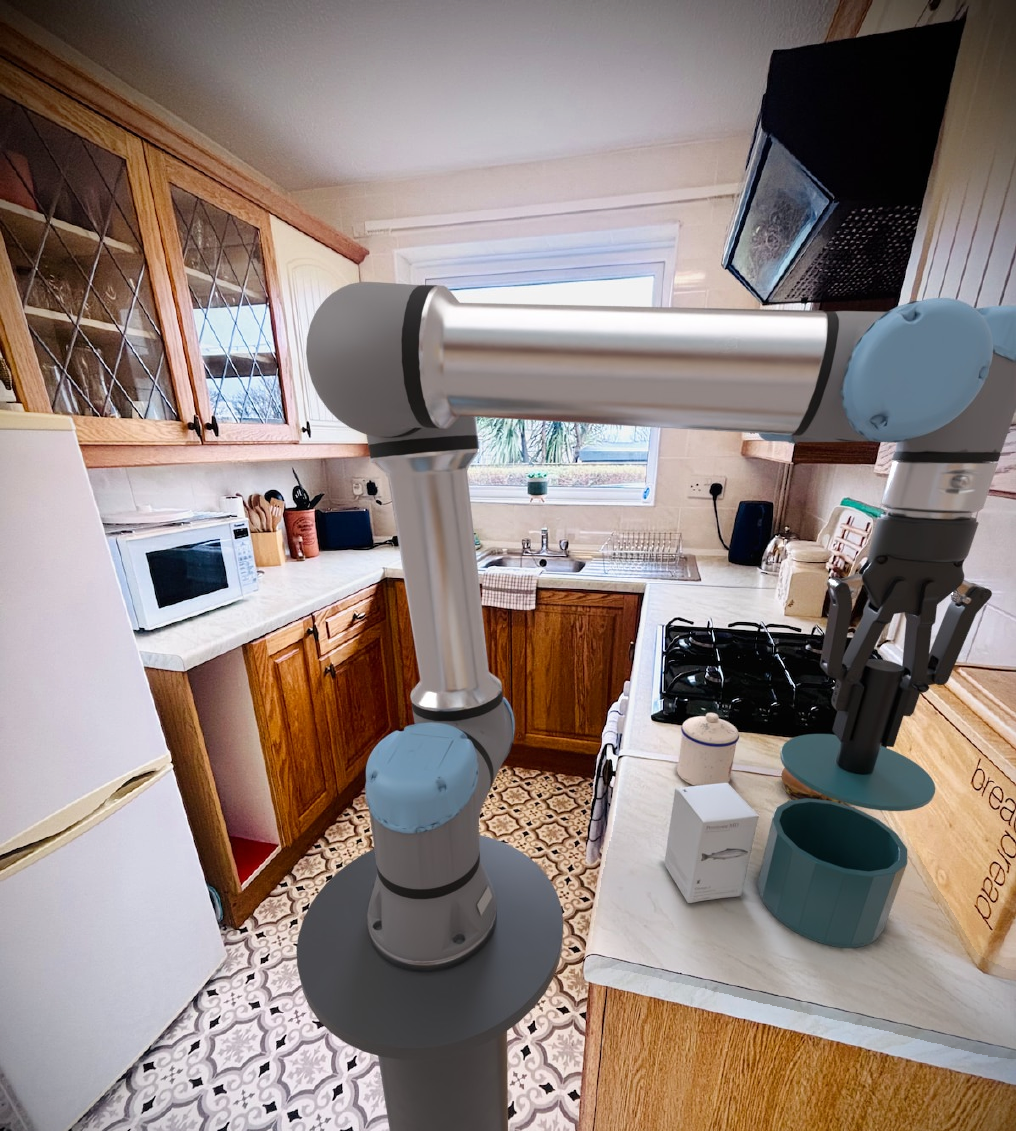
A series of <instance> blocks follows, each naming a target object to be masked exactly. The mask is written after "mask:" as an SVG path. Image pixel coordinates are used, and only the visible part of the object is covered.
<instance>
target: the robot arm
mask: <svg viewBox="0 0 1016 1131" xmlns="http://www.w3.org/2000/svg"><path fill="white" fill-rule="evenodd" d="M305 346H306V347H305V348H306V350H305V357H306V364H307V371H308V374H309V377H310V380H311V384H312V385H313V388H314V390H315V391H316V394H317V395H318V398H319V399H320V400H321V402H322V403H323V404H324V406H325V407H326V409H327V410H328V411H329V412H330V413H331V415H333V417H335V419H337V420H338V421H340V422H341V423H343V424H344V425H345V426H347V427H348V428H350V429H352V430H353V431H357V432H359V433H361V434H364V435H366V441H367V447H368V453H369V457H370V458H369V460H370V462H371V463H372V465H374V466H375V467H376V468H377V469H378V470H380V471H381V472H382V473H383V474H384V475H385V476H386V477H387V480H388V485H389V492H390V498H391V504H392V510H393V511H392V512H393V517H394V523H395V530H396V535H397V536H396V537H397V542H398V543H397V544H398V549H399V555H400V561H401V568H402V574H403V580H404V581H403V582H404V587H405V593H406V598H407V604H408V612H409V618H410V624H411V631H412V637H413V642H414V648H415V649H414V650H415V656H416V661H417V662H416V663H417V668H418V676H419V682H418V683H417V684H416V685H415V686H414V687H413V688H412V690H411V692H410V702H411V710H412V715H413V722H414V724H409V725H407V726H405V727H404V729H403V730H402V731H399V730H394V731H393V732H391V733H390V734H388V735H386V736H385V737H384V738H382V739H381V740H380V741H379V742H378V743H377V744H376V745H375V747H374V748H373V749H372V751H371V753H370V754H369V757H368V759H367V762H366V766H365V785H364V788H365V802H366V804H367V807H368V814H369V821H370V828H371V835H372V841H373V849H374V850H375V857H376V864H377V872H378V874H377V877H376V881H375V883H374V885H373V892H372V895H371V899H370V902H369V907H368V913H367V923H368V930H369V936H370V940H371V943H372V945H373V947H374V949H375V950H376V951H377V953H378V954H379V955H380V956H381V957H382V958H383V959H384V960H386V961H387V962H389V963H390V964H392V965H394V966H396V967H398V968H401V969H404V970H408V971H414V972H435V971H441V970H445V969H449V968H452V967H454V966H457V965H459V964H461V963H463V962H465V961H467V960H468V959H470V958H471V957H473V956H474V955H475V954H477V953H478V952H479V951H480V950H481V949H482V948H483V947H484V946H485V944H486V943H487V942H488V940H489V939H490V937H491V935H492V933H493V931H494V928H495V925H496V920H497V901H496V895H495V892H494V889H493V886H492V884H491V882H490V880H489V878H488V875H487V873H486V871H485V869H484V867H483V865H482V863H481V860H480V847H479V835H480V818H481V817H480V816H481V812H482V809H483V807H484V804H485V802H486V800H487V798H488V795H489V793H490V791H491V789H492V787H493V785H494V782H495V780H496V778H497V776H498V774H499V771H500V770H501V767H502V765H503V763H504V761H506V759H507V757H508V755H509V753H510V752H511V749H512V747H513V746H512V744H513V743H514V737H515V729H516V722H515V715H514V712H513V708H512V706H511V704H510V703H509V701H508V700H507V698H506V697H504V691H503V684H502V681H501V679H500V678H499V677H497V676H496V675H495V674H493V673H491V672H490V670H489V662H488V661H489V660H488V653H487V643H486V635H485V625H484V614H483V605H482V596H481V588H480V587H481V586H480V577H479V569H478V567H479V566H478V559H477V558H478V557H477V551H476V550H477V549H476V541H475V531H474V521H473V520H474V519H473V512H472V502H471V493H470V485H469V484H470V483H469V476H468V475H469V474H468V470H469V468H470V465H472V463H473V461H474V460H475V459H476V457H477V456H478V455H479V453H480V445H479V433H478V422H477V418H487V419H504V420H519V421H520V420H523V421H536V422H537V421H538V422H556V423H573V424H589V425H608V426H622V427H623V426H626V427H639V428H640V427H643V428H658V429H659V428H660V429H674V430H675V429H676V430H677V429H678V430H693V431H694V430H695V431H711V432H713V431H714V432H727V433H728V432H729V433H745V434H758V435H759V437H760V438H761V439H762V440H764V441H766V442H786V443H789V444H798V443H845V442H846V443H847V442H848V443H849V442H876V443H889V444H890V443H891V444H892V443H895V445H896V446H895V449H894V450H895V451H894V453H893V455H892V459H891V460H892V461H891V465H890V469H889V473H888V475H887V479H886V483H885V487H884V490H883V495H882V498H881V502H880V504H881V505H882V507H883V508H886V511H885V512H882V513H880V515H878V516H877V518H876V521H875V526H874V529H873V533H872V538H871V541H870V544H869V549H868V556H867V558H866V560H865V562H864V563H863V565H862V566H861V567H860V568H859V570H858V572H857V573H855V574H851V575H849V576H846V577H845V576H844V577H843V578H839V577H836V576H835V577H830V578H829V579H828V580H827V582H826V587H827V590H828V594H829V598H830V602H829V609H828V614H827V620H826V626H825V633H824V638H823V644H822V649H821V656H820V661H819V666H820V668H821V669H822V671H824V673H825V674H826V675H827V676H828V677H829V678H835V679H836V680H835V685H834V688H833V692H832V696H831V699H830V701H831V705H832V707H833V708H834V709H835V710H836V711H837V712H836V715H835V719H834V723H833V726H832V732H833V733H834V735H836V736H837V737H838V739H839V740H840V742H843V743H849V740H850V736H851V733H852V729H853V726H854V722H855V719H856V715H857V712H858V708H859V705H860V701H861V697H862V694H863V690H864V686H863V685H862V684H861V683H860V682H859V681H858V679H859V677H860V675H861V673H862V671H863V669H864V667H865V665H866V663H867V661H868V659H870V657H871V656H872V653H873V651H874V649H875V647H876V645H877V643H878V642H879V639H880V638H881V635H882V633H883V631H884V629H885V628H886V626H887V625H888V624H890V623H891V622H892V619H893V617H894V616H895V615H897V614H902V613H903V614H904V618H905V629H904V631H905V632H904V638H903V639H904V642H903V652H902V653H903V654H902V662H901V663H902V664H901V666H903V667H904V669H905V670H904V674H903V677H902V680H901V683H900V686H899V690H898V693H897V696H896V699H895V703H894V706H893V709H892V712H891V715H890V719H889V722H888V725H887V728H886V731H885V735H884V738H883V741H882V744H883V745H884V747H886V748H894V747H895V744H896V740H897V738H898V735H899V732H900V728H901V725H902V721H903V719H904V717H912V715H913V714H914V713H915V710H916V706H917V704H918V701H919V698H920V694H923V693H927V692H928V691H929V690H930V688H931V687H930V686H932V685H933V686H934V685H936V686H943V685H946V684H947V683H948V682H949V680H950V678H951V675H952V673H953V670H954V668H955V666H956V663H957V661H958V658H959V657H960V654H961V652H962V649H963V647H964V644H965V642H966V640H967V636H968V635H969V632H970V630H971V627H972V625H973V623H974V621H975V618H976V616H977V614H978V613H979V612H980V610H981V609H982V608H983V607H984V606H986V603H987V602H989V600H990V599H991V598H992V597H993V592H992V590H991V589H989V588H987V587H985V586H982V585H979V584H977V583H974V582H970V581H968V580H966V579H965V573H964V568H963V566H964V562H965V561H966V559H967V558H968V556H969V553H970V551H971V547H972V545H973V542H974V539H975V535H976V532H977V529H978V526H979V522H978V521H977V520H978V519H977V518H976V517H972V516H973V513H978V512H980V511H982V510H983V509H984V507H985V504H986V501H987V498H988V495H989V493H990V489H991V486H992V483H993V480H994V476H995V474H996V471H997V467H998V465H999V464H998V463H999V460H1000V458H1001V455H1002V454H1001V453H1002V452H1003V448H1004V445H1005V443H1006V439H1007V437H1008V435H1009V431H1010V428H1011V425H1012V422H1013V420H1014V416H1015V413H1016V305H1015V304H1014V305H1013V304H1012V305H1011V304H1008V305H1007V304H1006V305H1003V304H1002V305H991V306H986V307H980V308H979V307H978V308H977V307H974V306H972V305H971V304H969V303H967V302H965V301H962V300H960V299H955V298H950V297H933V298H926V299H921V300H913V301H912V300H911V301H910V302H907V303H904V304H901V305H898V306H896V307H894V308H892V309H890V310H888V311H866V310H865V311H862V310H861V311H859V310H858V311H857V310H837V311H824V310H817V309H816V310H814V309H812V310H810V309H770V308H769V309H768V308H767V309H766V308H765V309H764V308H763V309H762V308H721V307H720V308H717V307H675V306H674V307H672V306H671V307H670V306H631V305H630V306H627V305H626V306H625V305H623V306H622V305H583V304H578V305H577V304H540V303H539V304H537V303H535V304H534V303H532V304H531V303H490V302H488V303H486V302H460V301H459V300H458V299H457V297H456V296H455V295H454V294H453V292H452V291H451V290H450V289H449V288H448V287H447V286H445V285H440V284H439V285H438V284H410V283H409V284H408V283H394V282H380V281H359V282H353V283H349V284H347V285H344V286H342V287H339V288H338V289H337V290H334V292H332V293H331V294H330V295H329V296H328V297H326V298H325V299H324V301H322V303H321V304H320V306H318V308H317V309H316V311H315V313H314V315H313V318H312V320H311V322H310V324H309V328H308V332H307V335H306V345H305ZM861 587H862V589H863V590H864V592H865V594H866V596H867V598H868V599H867V601H866V603H865V605H864V608H863V611H862V617H861V619H860V621H859V623H858V625H857V627H856V629H855V632H854V634H853V636H852V638H851V639H850V642H849V644H848V646H847V648H846V644H847V639H848V634H849V629H850V625H851V624H850V623H851V618H852V614H853V599H856V597H857V596H858V592H859V589H860V588H861ZM949 596H950V599H951V601H950V603H949V605H948V606H947V609H946V611H945V613H944V616H943V618H942V621H941V623H940V626H939V628H938V631H937V633H936V636H935V639H934V641H933V643H932V646H931V639H932V633H933V632H932V631H933V625H935V623H936V621H937V620H936V618H937V609H938V605H939V604H940V603H941V602H943V601H944V600H945V599H946V598H948V597H949ZM845 649H846V650H845Z"/></svg>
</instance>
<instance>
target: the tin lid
mask: <svg viewBox="0 0 1016 1131" xmlns="http://www.w3.org/2000/svg"><path fill="white" fill-rule="evenodd" d="M904 670H905V669H904V667H903V666H902V664H899V663H897V662H894V661H892V660H891V661H890V660H886V659H880V658H879V659H878V658H869V659H868V661H867V663H866V665H865V667H864V669H863V671H862V673H861V675H860V677H859V679H858V681H859V682H860V683H861V684H862V685H863V686H864V690H863V694H862V697H861V701H860V705H859V708H858V712H857V715H856V719H855V722H854V726H853V729H852V733H851V736H850V740H849V743H843V742H840V740H839V739H838V737H837V736H836V735H835V734H831V733H811V734H810V733H809V734H803V735H798V736H794V737H792V738H790V739H788V740H787V741H785V743H783V745H782V746H781V748H780V749H781V750H780V755H779V756H780V758H779V759H780V761H781V764H782V766H783V767H784V768H785V769H786V770H787V771H788V772H789V773H790V774H791V775H792V776H793V777H794V778H796V779H797V780H798V781H800V782H801V783H803V784H804V785H806V786H807V787H809V788H811V789H813V790H815V791H816V792H818V793H821V794H823V795H825V796H827V797H830V798H832V799H835V800H838V801H841V802H844V804H846V805H847V804H848V805H850V806H855V807H859V808H863V809H869V810H875V811H882V812H908V811H912V810H918V809H920V808H923V807H926V806H927V805H928V804H930V803H931V802H932V801H933V799H934V797H935V793H936V784H935V782H934V780H933V778H932V777H931V776H930V774H929V773H928V772H927V771H926V770H925V769H924V768H923V767H921V766H920V765H919V764H918V763H916V762H915V761H914V760H912V759H910V758H909V757H906V756H905V755H904V754H901V753H899V752H898V751H895V750H892V749H890V748H889V747H886V746H883V745H882V744H883V743H882V741H883V738H884V735H885V731H886V728H887V725H888V722H889V719H890V715H891V712H892V709H893V706H894V703H895V699H896V696H897V693H898V690H899V686H900V683H901V682H902V681H903V679H902V677H903V674H904Z"/></svg>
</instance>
